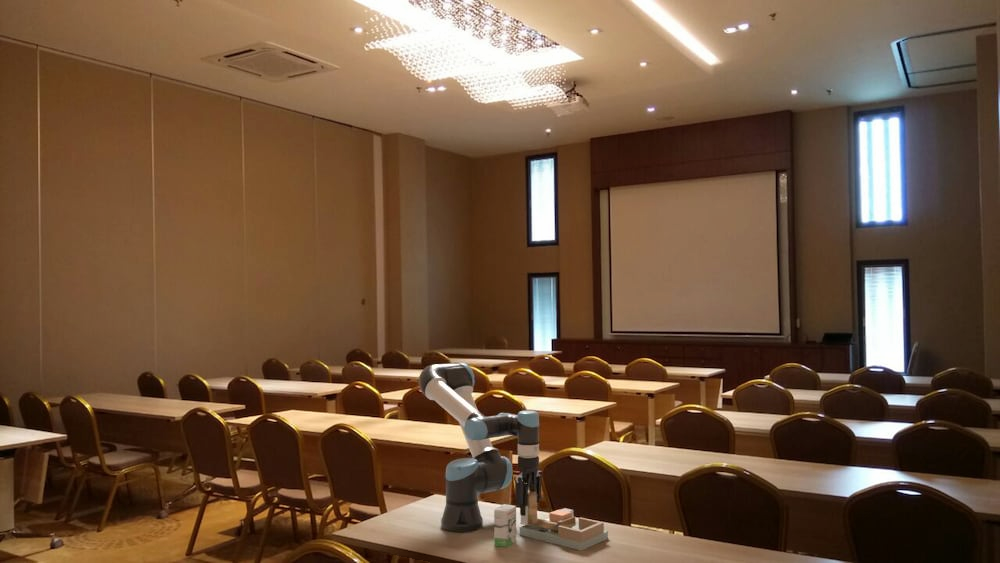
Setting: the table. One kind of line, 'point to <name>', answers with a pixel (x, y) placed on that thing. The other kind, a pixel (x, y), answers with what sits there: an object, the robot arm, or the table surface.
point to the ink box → (504, 525)
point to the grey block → (568, 510)
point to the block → (559, 515)
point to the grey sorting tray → (569, 534)
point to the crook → (534, 521)
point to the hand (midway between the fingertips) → (528, 522)
